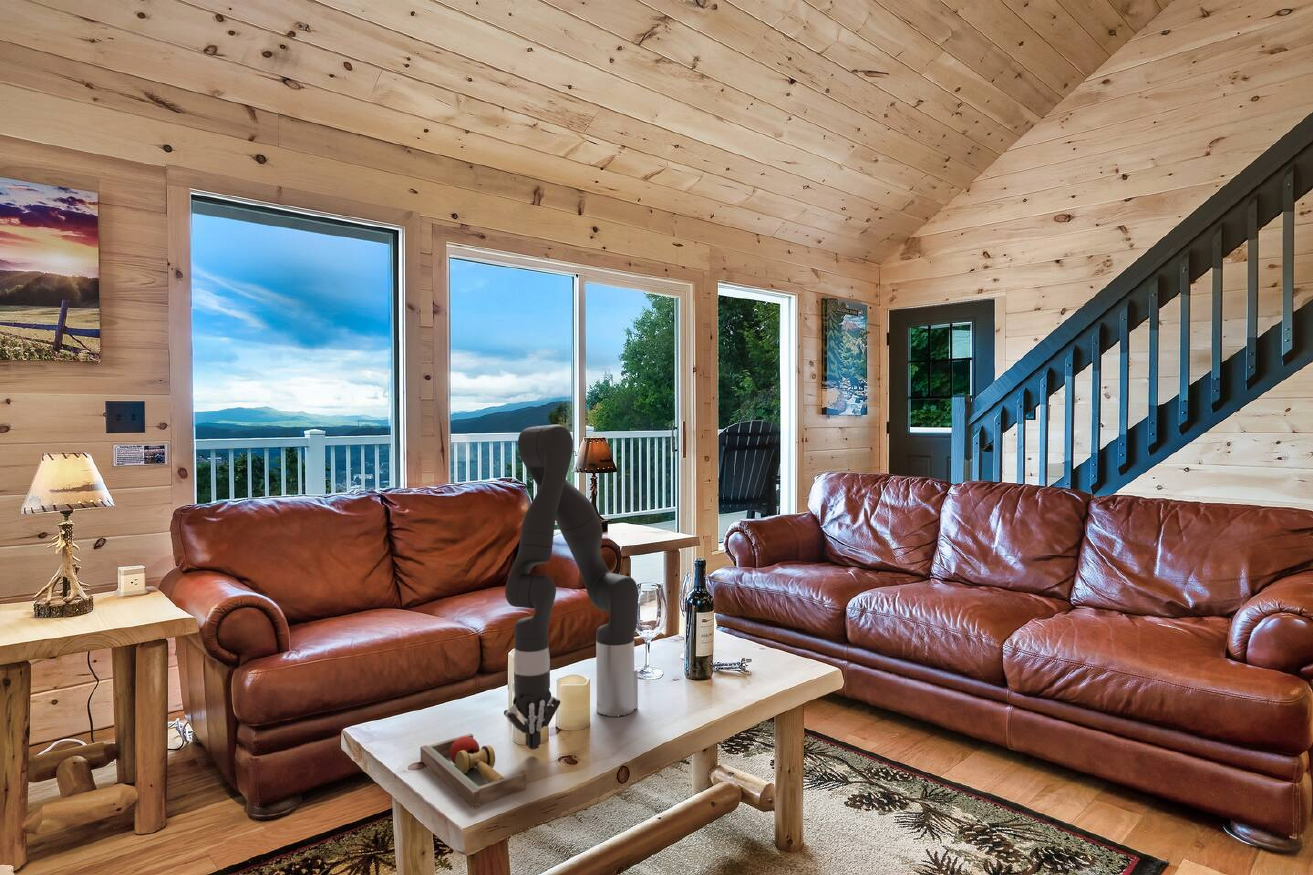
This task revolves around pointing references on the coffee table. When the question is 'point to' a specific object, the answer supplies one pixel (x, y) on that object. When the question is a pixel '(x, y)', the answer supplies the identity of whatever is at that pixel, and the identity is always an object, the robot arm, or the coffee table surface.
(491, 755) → the kendama
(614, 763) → the coffee table surface
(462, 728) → the coffee table surface
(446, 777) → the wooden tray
